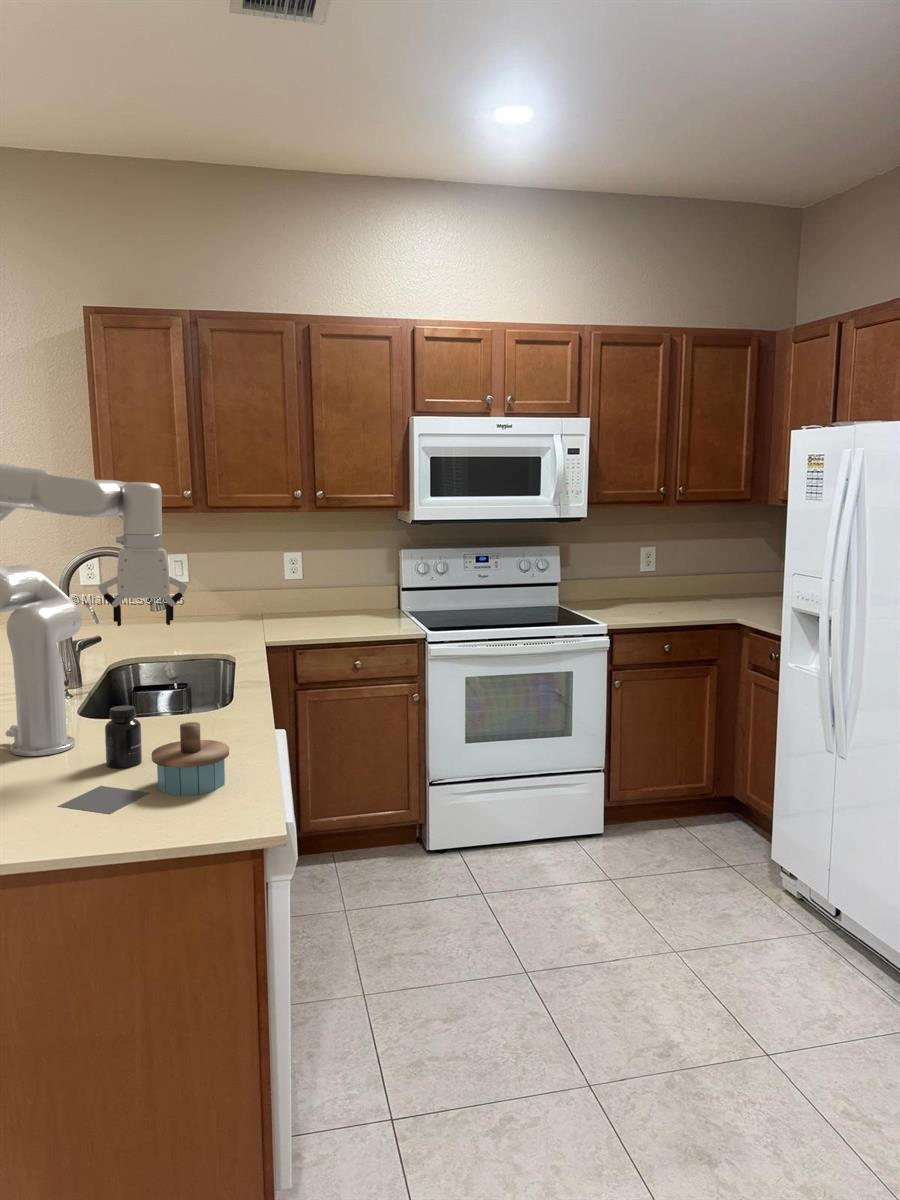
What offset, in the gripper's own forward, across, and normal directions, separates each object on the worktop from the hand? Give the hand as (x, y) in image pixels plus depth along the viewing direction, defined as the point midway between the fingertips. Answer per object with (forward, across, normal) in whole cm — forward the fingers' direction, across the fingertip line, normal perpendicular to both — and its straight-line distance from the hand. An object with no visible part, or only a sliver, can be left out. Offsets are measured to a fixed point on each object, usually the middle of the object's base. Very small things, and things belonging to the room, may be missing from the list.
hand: (143, 624), depth 179 cm
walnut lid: (+21, +8, -25) cm, 33 cm away
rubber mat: (+28, -8, -28) cm, 40 cm away
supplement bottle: (+28, -4, -8) cm, 29 cm away
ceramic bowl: (+27, +8, -25) cm, 37 cm away
